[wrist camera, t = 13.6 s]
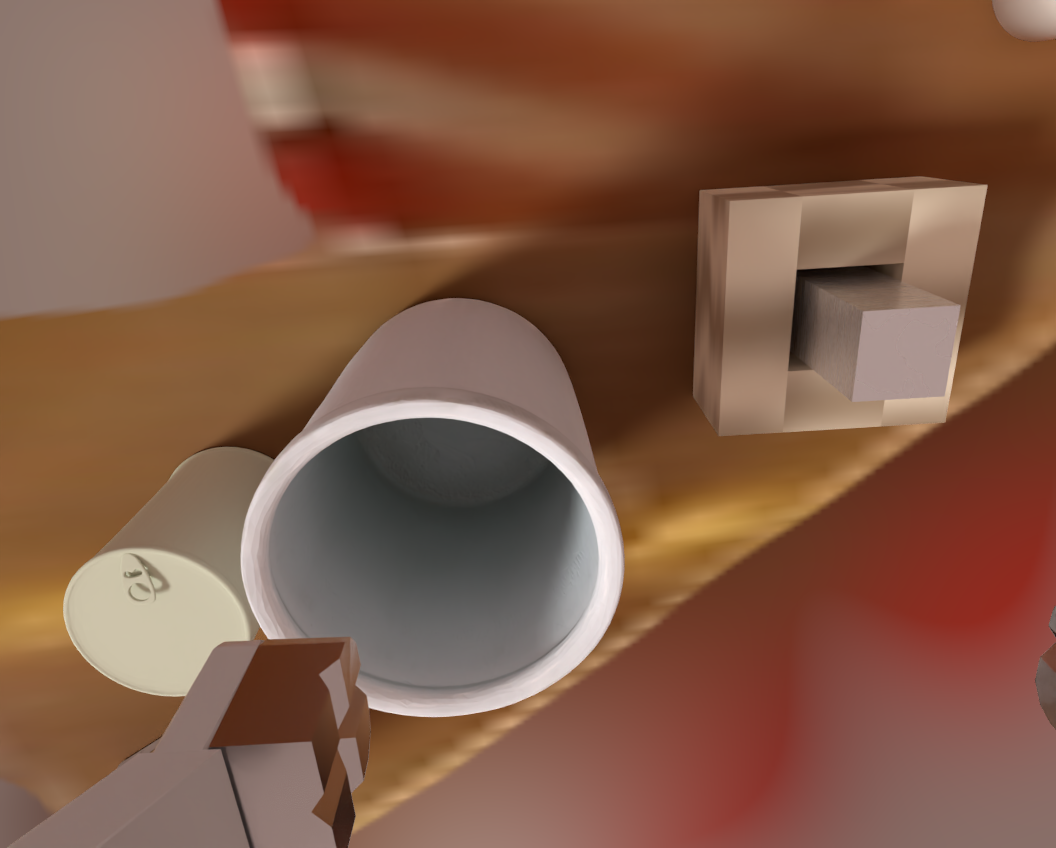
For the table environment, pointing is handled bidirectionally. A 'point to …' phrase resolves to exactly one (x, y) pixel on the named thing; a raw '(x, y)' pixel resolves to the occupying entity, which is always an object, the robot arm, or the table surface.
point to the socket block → (769, 286)
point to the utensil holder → (441, 517)
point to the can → (170, 578)
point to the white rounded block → (1027, 18)
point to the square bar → (872, 333)
